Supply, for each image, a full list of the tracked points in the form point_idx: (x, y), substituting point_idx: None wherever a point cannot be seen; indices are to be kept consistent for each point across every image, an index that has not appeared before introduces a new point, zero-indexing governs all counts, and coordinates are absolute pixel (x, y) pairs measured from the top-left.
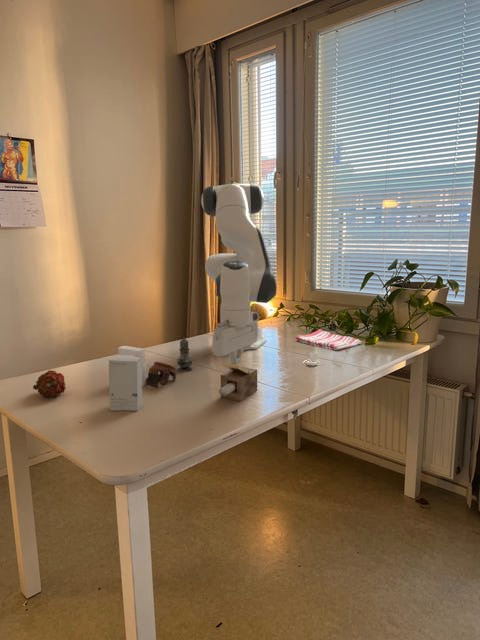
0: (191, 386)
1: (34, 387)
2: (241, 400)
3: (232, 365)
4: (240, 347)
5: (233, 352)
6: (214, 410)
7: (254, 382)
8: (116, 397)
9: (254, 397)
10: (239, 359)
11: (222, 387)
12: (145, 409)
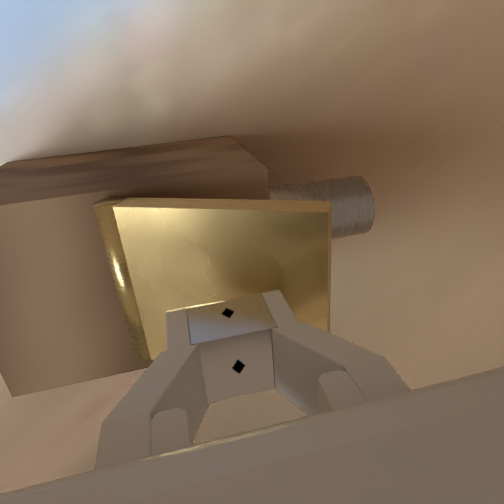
0: (216, 436)
1: None
2: (220, 137)
3: (329, 287)
4: (300, 438)
5: (400, 392)
6: (397, 170)
7: (26, 176)
8: None
9: (115, 105)
10: (205, 325)
11: (370, 218)
12: (482, 367)
